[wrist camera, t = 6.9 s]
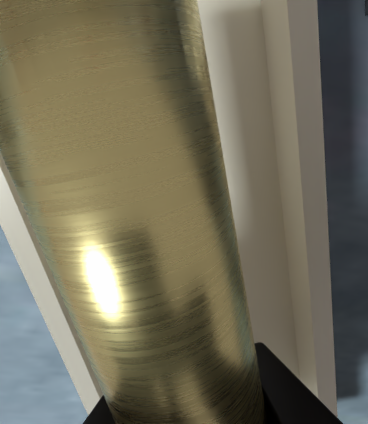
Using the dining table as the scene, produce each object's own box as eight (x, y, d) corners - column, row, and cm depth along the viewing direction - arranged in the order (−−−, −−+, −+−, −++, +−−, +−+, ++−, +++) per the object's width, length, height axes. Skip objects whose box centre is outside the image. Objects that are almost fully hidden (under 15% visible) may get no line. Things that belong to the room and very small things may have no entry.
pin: (291, 439, 9) (381, 720, 5) (156, 456, 10) (132, 734, 5) (227, -46, 5) (470, -963, 1) (-10, 17, 5) (-779, -358, 1)
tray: (311, 402, 13) (339, 462, 10) (134, 432, 13) (125, 496, 11) (268, -81, 7) (309, -167, 5) (-38, -2, 8) (-126, -49, 5)
